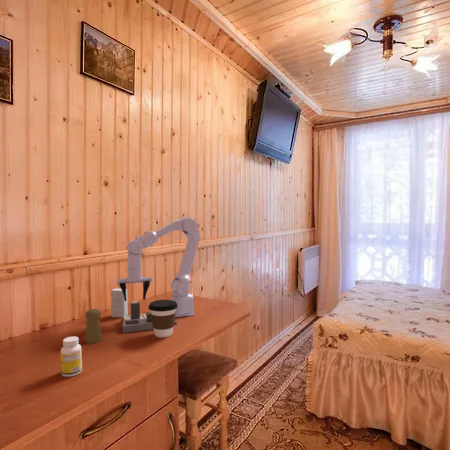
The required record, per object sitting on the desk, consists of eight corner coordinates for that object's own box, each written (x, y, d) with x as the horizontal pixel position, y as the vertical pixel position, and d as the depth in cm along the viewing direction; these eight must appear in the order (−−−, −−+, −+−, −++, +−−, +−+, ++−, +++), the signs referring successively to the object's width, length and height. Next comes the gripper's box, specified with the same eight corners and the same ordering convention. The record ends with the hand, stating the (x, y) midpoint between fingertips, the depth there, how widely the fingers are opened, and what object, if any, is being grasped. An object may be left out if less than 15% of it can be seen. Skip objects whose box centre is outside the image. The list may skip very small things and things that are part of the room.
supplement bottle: (65, 368, 95) (65, 335, 95) (84, 367, 96) (84, 335, 96) (57, 377, 90) (57, 342, 90) (77, 376, 91) (77, 342, 90)
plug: (139, 317, 141) (138, 300, 141) (139, 319, 138) (139, 302, 138) (130, 318, 140) (130, 301, 140) (131, 320, 137) (130, 303, 137)
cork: (106, 338, 119) (105, 308, 119) (94, 344, 113) (93, 313, 113) (92, 336, 121) (92, 306, 121) (80, 342, 115) (80, 311, 115)
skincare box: (128, 314, 147) (127, 288, 147) (124, 317, 143) (123, 290, 142) (115, 314, 148) (114, 288, 147) (111, 317, 143) (110, 290, 143)
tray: (145, 316, 144) (145, 314, 144) (146, 321, 137) (146, 318, 137) (123, 318, 141) (123, 316, 141) (124, 324, 134) (124, 321, 134)
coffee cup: (183, 332, 125) (183, 301, 124) (165, 342, 115) (165, 308, 115) (161, 327, 130) (161, 297, 129) (142, 336, 120) (142, 304, 120)
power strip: (175, 320, 138) (175, 307, 138) (179, 326, 132) (178, 312, 131) (122, 327, 131) (122, 313, 131) (123, 332, 124) (123, 318, 124)
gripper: (150, 265, 145) (150, 296, 145) (116, 267, 140) (116, 299, 140) (152, 268, 138) (153, 300, 139) (116, 270, 133) (117, 303, 134)
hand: (134, 299), depth 139 cm, fingers open, 7 cm apart
